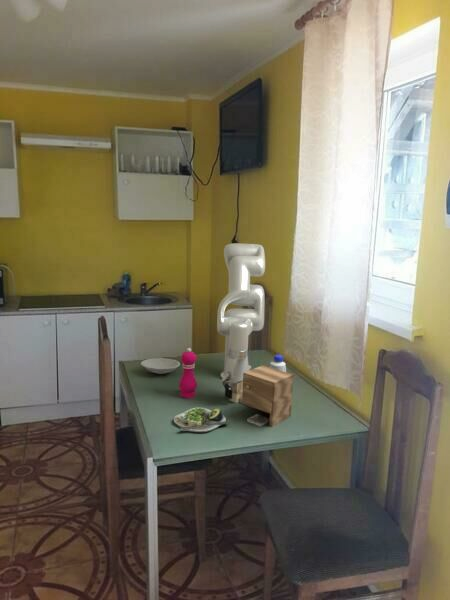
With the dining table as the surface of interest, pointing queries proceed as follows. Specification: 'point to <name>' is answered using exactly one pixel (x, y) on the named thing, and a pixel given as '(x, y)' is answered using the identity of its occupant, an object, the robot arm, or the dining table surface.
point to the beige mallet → (237, 392)
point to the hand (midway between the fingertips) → (236, 394)
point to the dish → (160, 365)
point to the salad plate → (200, 420)
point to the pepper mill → (188, 375)
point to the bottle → (278, 363)
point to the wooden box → (268, 392)
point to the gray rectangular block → (258, 420)
